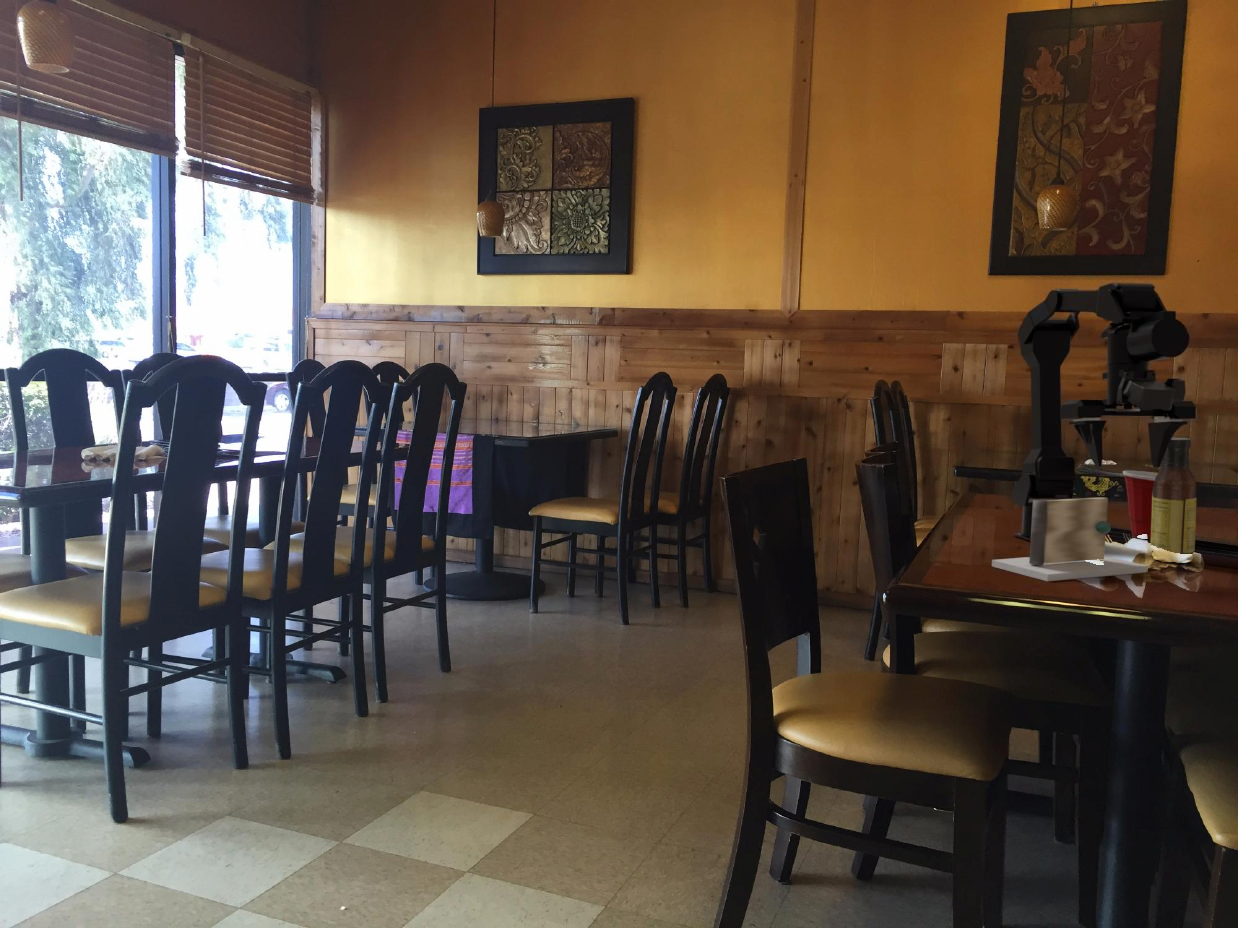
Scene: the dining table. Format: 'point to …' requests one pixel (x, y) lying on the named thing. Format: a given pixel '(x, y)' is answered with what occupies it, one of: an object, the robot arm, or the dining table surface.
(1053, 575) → the board
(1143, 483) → the plastic cup
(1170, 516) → the sauce bottle
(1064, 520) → the door
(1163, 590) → the dining table surface
